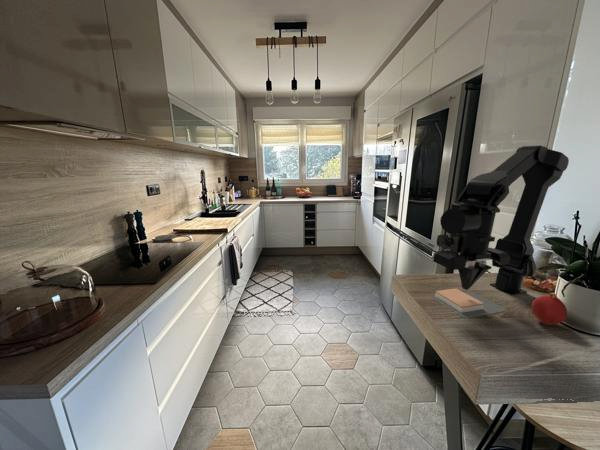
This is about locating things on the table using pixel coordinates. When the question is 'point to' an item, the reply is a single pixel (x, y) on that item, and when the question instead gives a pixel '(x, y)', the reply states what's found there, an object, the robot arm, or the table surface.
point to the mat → (487, 309)
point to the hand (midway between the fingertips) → (465, 288)
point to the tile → (459, 300)
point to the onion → (549, 309)
